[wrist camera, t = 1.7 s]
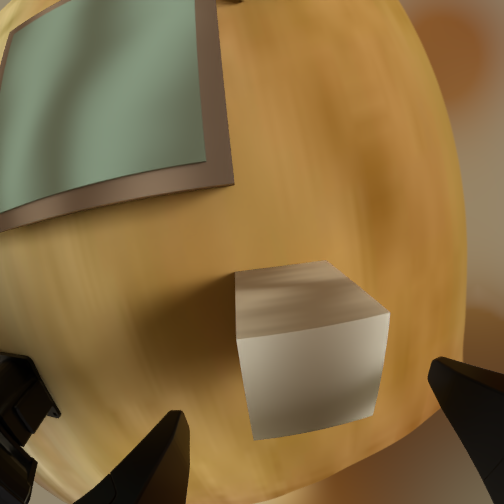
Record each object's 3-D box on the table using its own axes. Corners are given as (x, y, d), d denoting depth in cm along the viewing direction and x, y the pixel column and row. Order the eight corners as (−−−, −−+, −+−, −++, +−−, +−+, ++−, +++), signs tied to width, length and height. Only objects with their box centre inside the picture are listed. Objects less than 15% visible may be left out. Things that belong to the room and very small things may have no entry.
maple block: (245, 350, 16) (253, 440, 9) (234, 271, 15) (236, 339, 8) (326, 338, 16) (372, 415, 9) (325, 260, 15) (390, 312, 8)
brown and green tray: (24, 225, 13) (-9, 234, 10) (31, 45, 10) (7, 30, 7) (234, 184, 14) (234, 183, 10) (214, -17, 10) (211, -49, 7)
